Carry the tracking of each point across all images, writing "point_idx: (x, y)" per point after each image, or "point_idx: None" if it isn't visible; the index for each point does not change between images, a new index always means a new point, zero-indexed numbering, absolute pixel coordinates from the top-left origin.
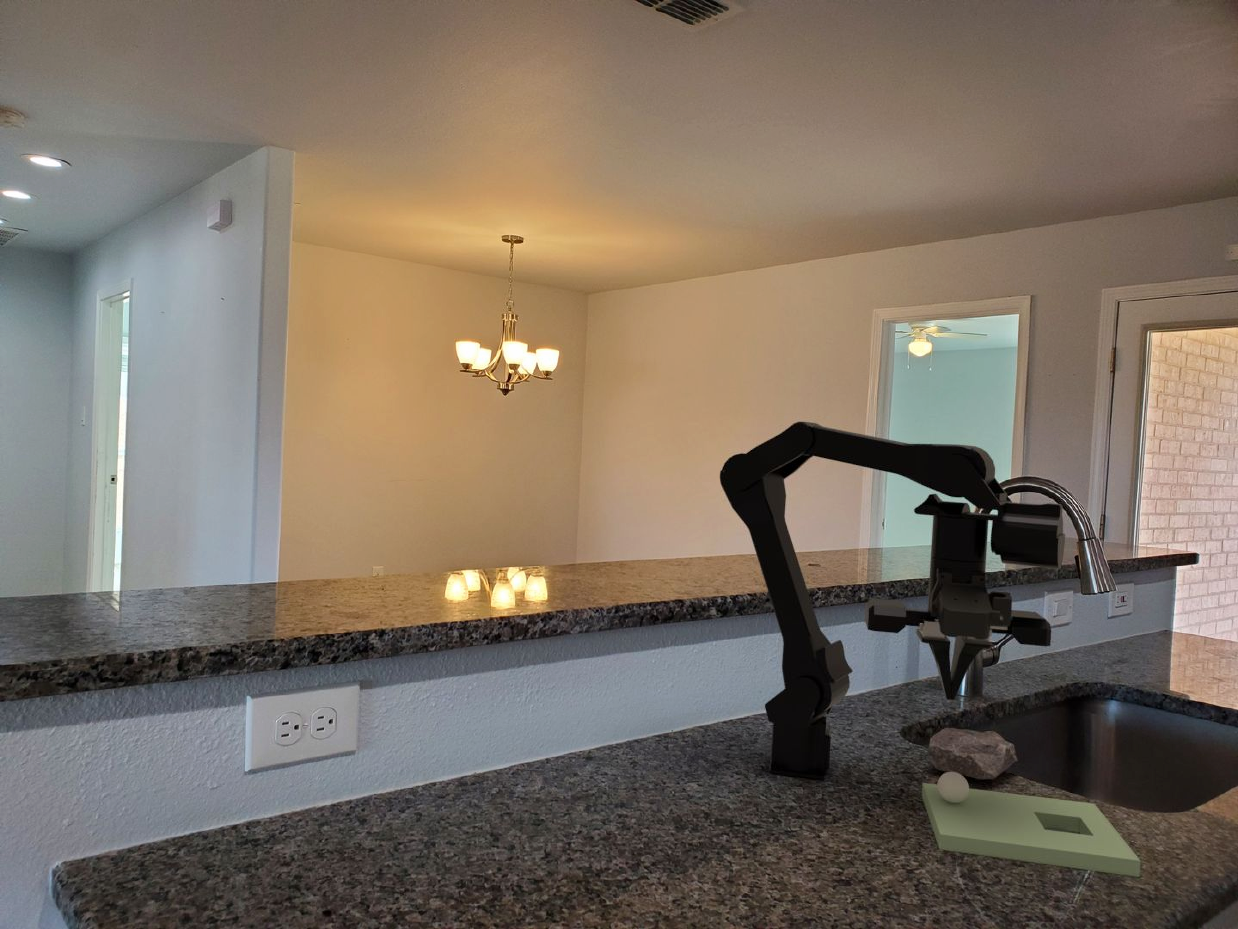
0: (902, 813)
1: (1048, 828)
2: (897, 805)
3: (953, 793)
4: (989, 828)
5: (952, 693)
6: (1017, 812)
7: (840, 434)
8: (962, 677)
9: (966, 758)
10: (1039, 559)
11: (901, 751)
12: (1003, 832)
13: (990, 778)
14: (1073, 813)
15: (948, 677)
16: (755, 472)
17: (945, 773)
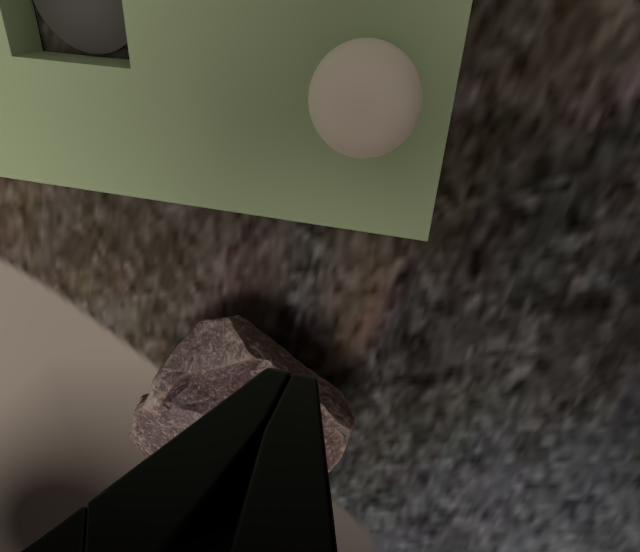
0: (545, 73)
1: (113, 45)
2: (536, 142)
3: (378, 39)
4: None
5: (268, 393)
6: (177, 48)
7: None
8: (138, 474)
9: (263, 355)
10: None
11: (393, 489)
12: None
13: (217, 318)
14: (28, 86)
15: (267, 493)
16: None
17: (388, 121)
